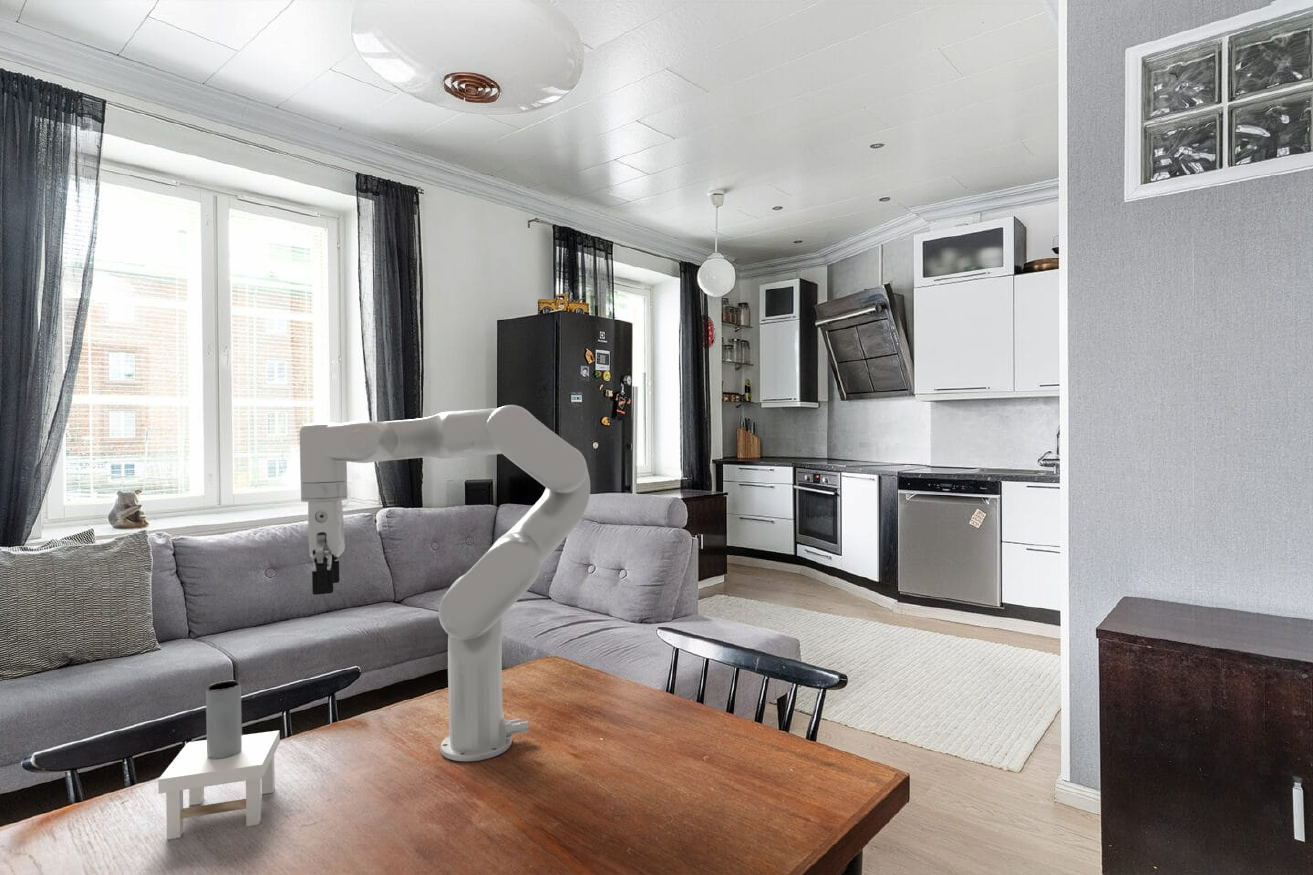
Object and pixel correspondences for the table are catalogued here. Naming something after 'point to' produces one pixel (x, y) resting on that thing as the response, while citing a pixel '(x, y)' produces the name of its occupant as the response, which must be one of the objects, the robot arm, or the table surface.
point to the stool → (219, 779)
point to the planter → (223, 719)
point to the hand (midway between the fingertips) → (326, 588)
